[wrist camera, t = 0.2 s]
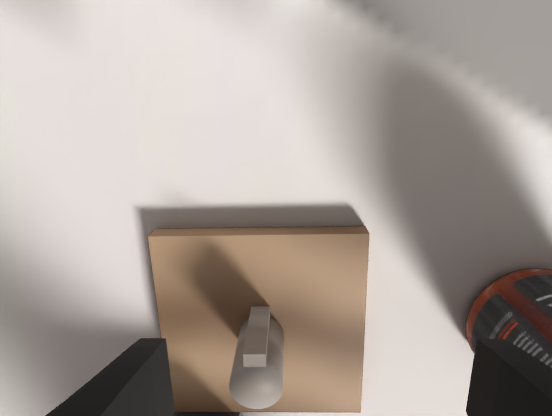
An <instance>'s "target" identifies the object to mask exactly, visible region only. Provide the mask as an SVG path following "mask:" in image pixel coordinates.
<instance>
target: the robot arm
mask: <svg viewBox="0 0 552 416" xmlns="http://www.w3.org/2000/svg"><path fill="white" fill-rule="evenodd" d="M174 409H175V408H174V400H173V392H172V384H171V376H170V368H169V359H168V351H167V343H166V338H141V339H139V340H138V341H137V342H135V343H134V344H133V345H132V346H130V347H129V348H128V349H127V350H126V351H124V352H123V353H122V354H121V355H120V356H118V357H117V358H116V359H115V360H114V361H113V362H111V363H110V364H109V365H108V366H107V367H105V368H104V369H103V370H102V371H101V372H99V373H98V374H97V375H96V376H95V377H93V378H92V379H91V380H90V381H89V382H87V383H86V384H85V385H84V386H83V387H81V388H80V389H79V390H78V391H76V392H75V393H74V394H73V395H72V396H70V397H69V398H68V399H67V400H65V401H64V402H63V403H61V404H60V405H59V406H58V407H56V408H55V409H54V410H52V411H51V412H50V413H48V414H47V415H46V416H173V413H174ZM466 412H467V415H468V416H552V368H551V367H549V366H548V365H546V364H545V363H543V362H542V361H540V360H538V359H537V358H535V357H534V356H532V355H531V354H529V353H527V352H526V351H524V350H522V349H521V348H519V347H518V346H516V345H514V344H512V343H511V342H509V341H507V340H505V339H477V341H476V348H475V354H474V361H473V368H472V374H471V381H470V387H469V394H468V401H467V407H466Z"/></svg>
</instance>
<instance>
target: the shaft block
mask: <svg viewBox="0 0 552 416" xmlns="http://www.w3.org/2000/svg"><path fill="white" fill-rule="evenodd" d="M148 241H149V249H150V256H151V264H152V271H153V279H154V286H155V294H156V301H157V308H158V316H159V323H160V331H161V338H166V343H167V351H168V359H169V368H170V376H171V384H172V392H173V400H174V408H175V409H174V412H357V413H361V396H362V375H363V354H364V334H365V313H366V292H367V271H368V250H369V232H368V230H367V228H366V227H365V226H328V227H255V228H182V229H154V231H153V232H152V233H151V234H150V235H149V236H148Z"/></svg>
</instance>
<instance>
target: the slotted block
mask: <svg viewBox="0 0 552 416" xmlns="http://www.w3.org/2000/svg"><path fill="white" fill-rule="evenodd" d="M173 416H242V412H174V413H173Z"/></svg>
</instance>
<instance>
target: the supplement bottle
mask: <svg viewBox="0 0 552 416" xmlns="http://www.w3.org/2000/svg"><path fill="white" fill-rule="evenodd" d="M466 334H467V339H468V342H469V345H470V347H471V349H472V351H473V353H474V354H475V348H476V341H477V339H505V340H507V341H509V342H511V343H512V344H514V345H516V346H518V347H519V348H521V349H522V350H524V351H526V352H527V353H529V354H531V355H532V356H534V357H535V358H537V359H538V360H540V361H542V362H543V363H545V364H546V365H548V366H549V367H551V368H552V270H548V269H525V270H520V271H516V272H513V273H510V274H508V275H505V276H503V277H502V278H500V279H498V280H496V281H494V282H493V283H491V284H490V285H489V286H487V287H486V288H485V289H484V290H483V291H482V292H481V293H480V294H479V296H478V297H477V298H476V300H475V301H474V303H473V305H472V307H471V309H470V312H469V314H468V317H467V323H466Z"/></svg>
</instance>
